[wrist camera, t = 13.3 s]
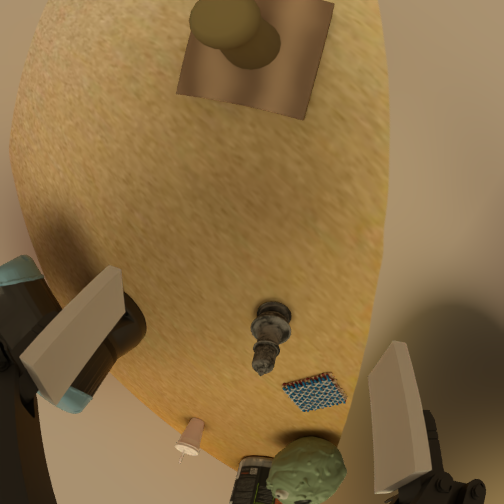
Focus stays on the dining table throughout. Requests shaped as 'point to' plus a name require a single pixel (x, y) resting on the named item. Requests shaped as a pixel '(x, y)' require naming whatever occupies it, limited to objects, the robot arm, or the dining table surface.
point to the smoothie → (191, 438)
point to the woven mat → (315, 392)
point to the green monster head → (306, 472)
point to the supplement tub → (253, 482)
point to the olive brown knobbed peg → (236, 31)
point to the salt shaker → (269, 335)
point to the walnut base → (270, 76)
